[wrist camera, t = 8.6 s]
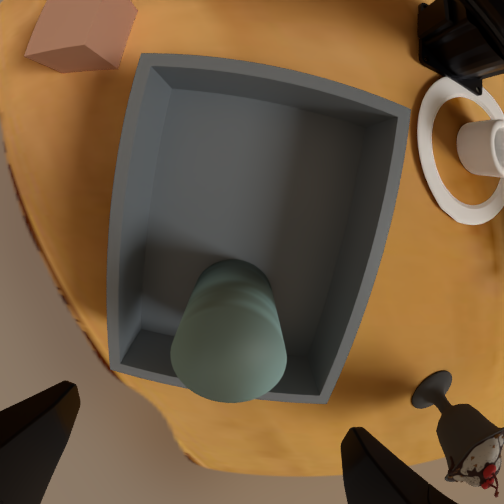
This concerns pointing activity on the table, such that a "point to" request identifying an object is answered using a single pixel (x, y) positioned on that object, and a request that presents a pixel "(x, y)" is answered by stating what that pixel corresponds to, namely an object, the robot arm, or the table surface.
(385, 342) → the table surface
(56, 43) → the cube
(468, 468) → the sundae
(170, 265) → the tote
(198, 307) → the cylinder
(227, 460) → the table surface
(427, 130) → the candle holder
